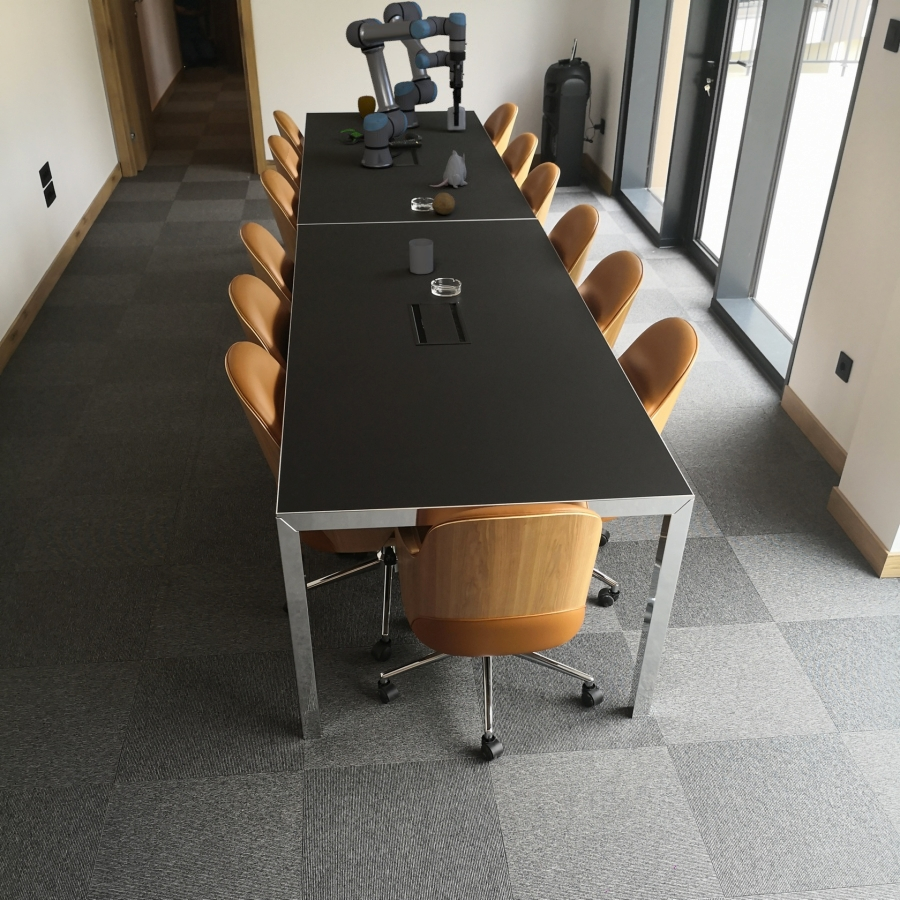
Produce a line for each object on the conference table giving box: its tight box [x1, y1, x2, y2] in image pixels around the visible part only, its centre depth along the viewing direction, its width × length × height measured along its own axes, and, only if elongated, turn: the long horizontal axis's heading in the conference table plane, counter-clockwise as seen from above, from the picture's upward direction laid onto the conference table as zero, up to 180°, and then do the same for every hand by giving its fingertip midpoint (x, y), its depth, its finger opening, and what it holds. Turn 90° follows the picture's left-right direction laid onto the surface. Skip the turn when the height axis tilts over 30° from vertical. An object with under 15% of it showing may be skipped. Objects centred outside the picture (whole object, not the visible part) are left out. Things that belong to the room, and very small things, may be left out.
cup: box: [408, 237, 434, 275], centre depth 305 cm, size 8×8×10 cm
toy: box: [428, 149, 468, 189], centre depth 390 cm, size 9×24×15 cm, turn 137°
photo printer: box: [446, 105, 466, 131], centre depth 484 cm, size 10×4×12 cm, turn 93°
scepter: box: [338, 128, 396, 145], centre depth 467 cm, size 6×13×30 cm
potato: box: [431, 192, 456, 216], centre depth 360 cm, size 10×14×8 cm
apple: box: [357, 94, 377, 120], centre depth 514 cm, size 11×11×13 cm
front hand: (457, 100), depth 405 cm, fingers open, 13 cm apart
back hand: (456, 124), depth 486 cm, fingers closed on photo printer, 4 cm apart
